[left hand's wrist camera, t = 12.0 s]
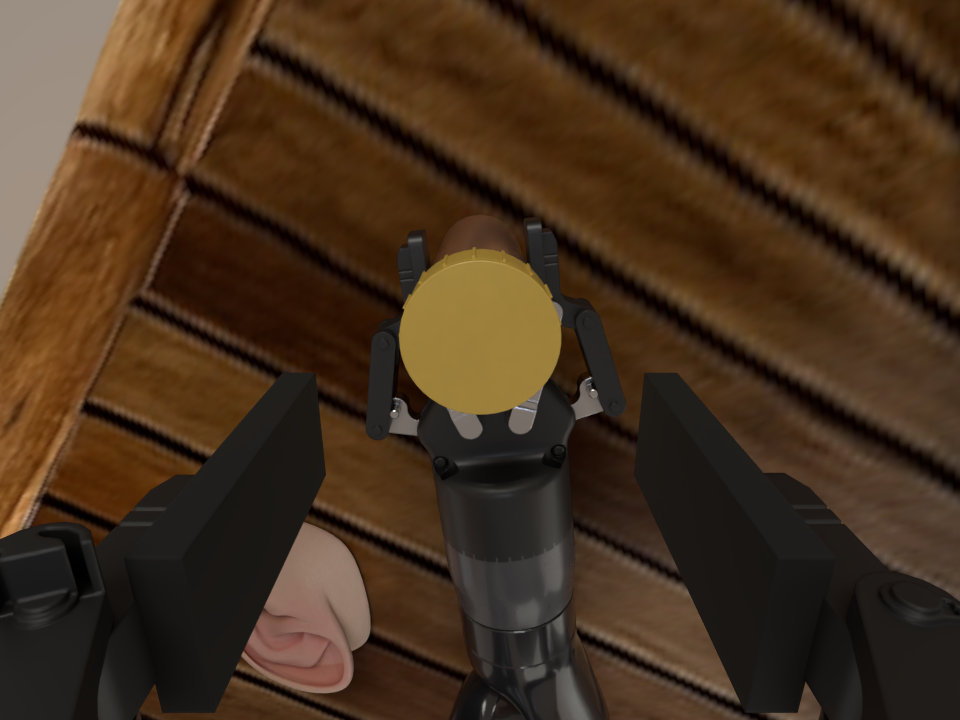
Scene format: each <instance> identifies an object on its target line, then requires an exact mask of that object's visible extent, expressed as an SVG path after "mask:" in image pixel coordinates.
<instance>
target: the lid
mask: <svg viewBox="0 0 960 720" xmlns="http://www.w3.org/2000/svg"><path fill="white" fill-rule="evenodd" d="M551 298H552V294H551V292H550V290H549V288H548V286H547V284H545V285H544V284H543V282H542V281H541V279H540V278H539V277H538V275H537V274H536V273H535V272H534V271H533V270H532V269H531V267H530V264H528V263H527V264H525V263H523V262H522V261H521V260H519V259H517V258H515V257H513V256H511V255H508V254H506V253H505V251H503V250H502V251H501V252H499V251H495V250H488V249H476V247H473V249H472V250H466V251H461V252H458V253H454V254H452V255H450V256H448V254H447V255H445V257H444V259H442V260H440V261H439V262H437V263H436V264H434V265H433V266H432V267H431V268H430V269H428V271H427V272H425V271H424V272H423V273H422V275H421V277H420V279H419V281H418V283H417V284H416V286H415V288H414V290H413V292H412V294H411V295H410V294H409V296H408V298H407V300H406V302H405V304H404V306H403V309H405V310H404V313H403V316H402V319H401V324H400V331H399V343H400V351H401V356H402V359H403V362H404V365H405V367H406V369H407V371H408V373H409V375H410V377H411V378H412V380H413V381H414V383H415V384H416V385H417V386H418V387H419V388H420V390H421V391H422V392H423V393H425V394H426V395H427V396H428V397H429V398H431V399H432V400H434V401H435V402H437V403H438V404H440V405H442V406H444V407H446V408H448V409H451V410H454V411H457V412H462V413H466V414H475V415H484V414H494V413H499V412H503V411H507V410H509V409H512V408H514V407H517V406H518V405H520V404H522V403H524V402H526V401H527V400H528V399H530V398H531V397H532V396H534V395H535V394H536V393H537V392H538V391H539V390H540V389H541V388H542V387H543V386H544V384H545V383H546V382H547V381H548V379H549V377H550V376H551V374H552V373H553V371H554V368H555V366H556V364H557V361H558V358H559V354H560V348H561V326H560V325H562V324H561V321H560V319H559V316H558V314H557V311H556V309H555V306H554V304H553V302H552V300H551Z"/></svg>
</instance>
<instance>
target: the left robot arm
mask: <svg viewBox="0 0 960 720" xmlns="http://www.w3.org/2000/svg"><path fill="white" fill-rule="evenodd" d="M325 476H326V471H325V461H324V452H323V442H322V432H321V422H320V413H319V403H318V393H317V384H316V374H315V373H283V374H282V375H281V376H280V377H279V378H278V379H277V380H276V382H275V383H274V384H273V385H272V386H271V387H270V389H269V390H268V391H267V392H266V393H265V394H264V396H263V397H262V398H261V399H260V400H259V401H258V402H257V404H256V405H255V406H254V407H253V408H252V409H251V411H250V412H249V413H248V414H247V415H246V416H245V418H244V419H243V420H242V421H241V422H240V423H239V424H238V426H237V427H236V428H235V429H234V430H233V431H232V433H231V434H230V435H229V436H228V437H227V438H226V440H225V441H224V442H223V443H222V444H221V445H220V446H219V448H218V449H217V450H216V451H215V452H214V453H213V455H212V456H211V457H210V458H209V459H208V460H207V462H206V463H205V464H204V465H203V466H202V467H201V468H200V470H199V471H198V472H197V473H196V474H195V475H175V476H173V477H172V478H170V479H168V480H167V481H165V482H163V483H162V484H160V485H158V486H157V487H155V488H153V489H152V490H150V491H149V492H148V493H147V494H146V496H145V497H144V498H143V499H142V500H141V501H140V502H139V503H138V504H137V505H136V506H135V507H134V511H130V512H129V513H128V514H127V515H126V516H125V518H124V519H123V520H122V521H121V522H120V525H119V526H116V527H115V528H114V529H113V530H112V531H111V532H110V533H109V534H108V535H107V536H106V537H105V539H104V540H103V541H102V542H101V543H100V544H99V545H98V546H97V547H96V548H95V546H94V542H93V538H92V535H91V531H90V530H89V529H87V528H86V527H85V526H83V525H82V524H77V523H70V522H58V523H49V524H42V525H38V526H35V527H31V528H28V529H24V530H20V531H18V532H16V533H13V534H11V535H9V536H7V537H4V538H2V539H0V720H141V716H140V713H139V709H140V707H141V706H142V704H143V702H144V701H145V699H146V697H147V696H148V694H149V692H150V691H151V689H152V687H153V686H154V684H155V685H156V689H157V693H158V697H159V701H160V705H161V709H162V713H215V711H216V709H217V707H218V705H219V702H220V700H221V698H222V696H223V694H224V692H225V690H226V687H227V685H228V683H229V681H230V679H231V677H232V675H233V672H234V670H235V668H236V666H237V664H238V662H239V660H240V657H241V655H242V653H243V651H244V649H245V647H246V645H247V642H248V640H249V638H250V636H251V634H252V632H253V630H254V628H255V625H256V623H257V621H258V619H259V617H260V615H261V613H262V610H263V608H264V606H265V604H266V602H267V600H268V598H269V595H270V593H271V591H272V589H273V587H274V585H275V583H276V580H277V578H278V576H279V574H280V572H281V570H282V568H283V565H284V563H285V561H286V559H287V557H288V555H289V553H290V550H291V548H292V546H293V544H294V542H295V540H296V538H297V535H298V533H299V531H300V529H301V527H302V525H303V523H304V520H305V518H306V516H307V514H308V512H309V510H310V508H311V506H312V503H313V501H314V499H315V497H316V495H317V493H318V491H319V488H320V486H321V484H322V482H323V480H324V478H325ZM634 476H635V478H636V480H637V482H638V484H639V486H640V488H641V491H642V493H643V495H644V497H645V499H646V501H647V503H648V506H649V508H650V510H651V512H652V514H653V516H654V518H655V520H656V523H657V525H658V527H659V529H660V531H661V533H662V535H663V538H664V540H665V542H666V544H667V546H668V548H669V550H670V553H671V555H672V557H673V559H674V561H675V563H676V565H677V568H678V570H679V572H680V574H681V576H682V578H683V580H684V583H685V585H686V587H687V589H688V591H689V593H690V595H691V598H692V600H693V602H694V604H695V606H696V608H697V610H698V613H699V615H700V617H701V619H702V621H703V623H704V625H705V628H706V630H707V632H708V634H709V636H710V638H711V640H712V642H713V645H714V647H715V649H716V651H717V653H718V655H719V657H720V660H721V662H722V664H723V666H724V668H725V670H726V672H727V675H728V677H729V679H730V681H731V683H732V685H733V687H734V690H735V692H736V694H737V696H738V698H739V700H740V702H741V705H742V707H743V709H744V711H745V713H798V709H799V705H800V701H801V697H802V693H803V689H804V685H805V681H806V683H807V684H808V686H809V688H810V689H811V691H812V693H813V694H814V696H815V698H816V699H817V701H818V703H819V704H820V706H821V707H822V709H821V713H820V716H819V720H960V602H959V601H958V600H957V599H955V598H954V597H953V596H951V595H950V594H949V593H947V592H946V591H944V590H942V589H940V588H938V587H936V586H934V585H932V584H930V583H928V582H926V581H924V580H921V579H918V578H915V577H912V576H908V575H905V574H902V573H895V572H890V571H889V570H888V569H887V568H886V567H885V566H884V565H883V564H882V563H881V562H880V561H879V560H878V559H877V558H876V557H875V555H874V554H873V553H872V552H871V551H870V550H869V549H868V548H867V547H866V546H865V545H864V544H863V543H862V542H861V541H860V540H859V539H858V538H857V537H856V536H855V535H854V534H853V533H852V532H851V531H850V529H849V528H848V527H847V526H846V525H845V524H841V520H840V519H839V518H838V517H837V516H836V515H835V514H834V513H833V512H832V511H831V510H830V509H827V506H826V504H825V503H824V502H823V501H822V500H821V499H820V498H819V497H818V496H817V495H816V494H815V493H814V492H813V491H812V490H811V489H810V488H809V487H807V486H805V485H804V484H802V483H800V482H799V481H797V480H795V479H794V478H792V477H790V476H789V475H787V474H785V473H763V472H762V471H761V470H760V468H759V467H758V466H757V465H756V464H755V463H754V462H753V460H752V459H751V458H750V457H749V456H748V455H747V453H746V452H745V451H744V450H743V449H742V448H741V446H740V445H739V444H738V443H737V442H736V441H735V440H734V438H733V437H732V436H731V435H730V434H729V433H728V431H727V430H726V429H725V428H724V427H723V426H722V424H721V423H720V422H719V421H718V420H717V419H716V418H715V416H714V415H713V414H712V413H711V412H710V411H709V409H708V408H707V407H706V406H705V405H704V404H703V402H702V401H701V400H700V399H699V398H698V397H697V396H696V394H695V393H694V392H693V391H692V390H691V389H690V387H689V386H688V385H687V384H686V383H685V382H684V380H683V379H682V378H681V377H680V376H679V375H678V374H677V373H645V374H644V384H643V393H642V403H641V413H640V422H639V432H638V442H637V452H636V461H635V471H634Z"/></svg>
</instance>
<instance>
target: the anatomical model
mask: <svg viewBox="0 0 960 720" xmlns="http://www.w3.org/2000/svg"><path fill="white" fill-rule="evenodd" d="M370 629H371V625H370V611H369V605H368V600H367V595H366V591H365V588H364V584H363V580H362V577H361V574H360V571H359V569H358V566H357V564H356V562H355V559H354V558H353V556H352V554H351V552H350V551H349V549H348V548H347V547H346V546H345V545H344V544H343V543H342V542H341V541H340V540H339V539H338V538H336V537H335V536H334V535H332V534H330V533H329V532H327V531H325V530H323V529H321V528H318V527H316V526H314V525H311V524H308V523H305V522H304V523H303V525H302V527H301V529H300V531H299V533H298V535H297V538H296V540H295V542H294V544H293V546H292V548H291V550H290V553H289V555H288V557H287V559H286V561H285V563H284V565H283V568H282V570H281V572H280V574H279V576H278V578H277V580H276V583H275V585H274V587H273V589H272V591H271V593H270V595H269V598H268V600H267V602H266V604H265V606H264V608H263V610H262V613H261V615H260V617H259V619H258V621H257V623H256V625H255V628H254V630H253V632H252V634H251V636H250V638H249V640H248V642H247V645H246V647H245V649H244V651H243V653H242V655H241V656H242V657H243V658H244V659H245V660H246V661H247V662H248V663H249V664H250V665H251V666H252V667H253V668H255V669H256V670H257V671H258V672H260V673H261V674H263V675H265V676H266V677H268V678H270V679H272V680H274V681H276V682H278V683H280V684H283V685H285V686H288V687H291V688H294V689H297V690H301V691H306V692H313V693H332V692H337V691H340V690H343V689H344V688H346V687H347V686H348V685H349V683H350V682H351V679H352V677H353V671H354V664H353V656H352V652H351V651H353V650H355V649H357V648H359V647H360V646H362V645H363V644H364V643H365V642H366V641H367V639H368V637H369V634H370Z"/></svg>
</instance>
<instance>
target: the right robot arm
mask: <svg viewBox="0 0 960 720" xmlns="http://www.w3.org/2000/svg"><path fill="white" fill-rule="evenodd" d="M524 232H525V244H526V255H527V263H528V264H530V267H531V269H532V270H533V271H534V272H535V273H536V274H537V275H538V277H539V278H540V279H541V281H542V282H543V284H544V285H545V284H547V286H548V288H549V290H550V292H551V294H552V298H551V300H552V302H553V304H554V306H555V309H556V311H557V314H558V316H559V319H560V321H561V324H562V325H560V326H564V327H569V328H573V329H575V333H576V336H577V339H578V342H579V345H580V348H581V351H582V354H583V357H584V361H585V364H586V367H587V370H588V371H587V372H584V373H582V374H581V375H580V376H579V377H578V379H577V392H576V393H575V395H574V396H572V397H570V398H568V397H567V396H566V395H565V394H564V392H563V391H562V390H561V389H560V388H559V387H558V386H557V385H556V384H555V383H554V382H553V381H552V380H551V379H550V378H549V379H548V381H547V382H546V383H545V384H544V386H543V387H542V388H541V389H540V390H539V391H538V392H537V393H536V394H535V395H534V396H532V397H531V398H530V399H528V400H527V401H526V402H524V403H522V404H520V405H518V406H517V407H514V408H512V409H509V410H507V411H503V412H499V413H494V414H484V415H475V414H466V413H462V412H457V411H454V410H451V409H448V408H446V407H444V406H442V405H440V404H438V403H437V402H435V401H434V400H432V399H431V398H429V400H428V401H427V403H426V405H425V407H424V408H423V410H422V412H421V413H417V412H415V411H413V410H412V408H411V407H410V403H409V398H408V396H407V395H406V394H405V393H403V392H399V391H397V383H398V371H399V359H400V343H399V331H400V324H401V319H402V316H403V313H404V312H403V313H402V314H401V315H399V316H397V317H395V318H393V319H385V320H384V321H382V322H381V324H380V326H379V328H378V331H377V332H376V333H375V335H374V336H373V338H372V342H371V356H370V372H369V387H368V403H367V419H366V432H367V434H368V436H369V437H370V438H372V439H374V440H382V439H384V438H386V437H387V435H388V433H397V434H406V435H415V436H418V438H419V440H420V442H421V443H422V444H423V446H424V447H425V448H426V449H427V451H428V453H429V455H430V457H431V462H432V467H433V474H434V480H435V486H436V492H437V499H438V505H439V511H440V517H441V524H442V530H443V536H444V542H445V548H446V555H447V561H448V566H449V571H450V574H451V578H452V581H453V583H454V586H455V589H456V593H457V597H458V602H459V609H460V615H461V622H462V628H463V635H464V641H465V646H466V651H467V654H468V657H469V660H470V662H471V665H472V667H473V668H474V669H473V670H472V671H471V672H470V673H469V675H468V676H467V677H466V679H465V681H464V682H463V684H462V686H461V688H460V691H459V693H458V695H457V698H456V700H455V703H454V706H453V709H452V711H451V714H450V717H449V720H610V719H609V713H608V709H607V705H606V702H605V699H604V696H603V693H602V691H601V688H600V686H599V683H598V681H597V678H596V676H595V674H594V671H593V669H592V667H591V664H590V662H589V659H588V657H587V654H586V652H585V649H584V647H583V645H582V643H581V641H580V638H579V636H578V634H577V631H576V617H575V603H574V589H573V576H574V568H575V542H574V528H573V513H572V498H571V484H570V470H569V455H568V440H569V436H570V434H571V432H572V430H573V428H574V426H575V422H576V419H580V418H583V417H586V416H589V415H592V414H595V413H598V412H601V411H604V413H605V414H606V415H608V416H611V417H616V416H619V415H621V414H622V413H623V412H624V411H625V408H626V402H625V399H624V396H623V392H622V389H621V386H620V382H619V379H618V376H617V373H616V369H615V366H614V363H613V359H612V356H611V353H610V350H609V346H608V343H607V340H606V336H605V333H604V330H603V327H602V323H601V320H600V317H599V315H598V314H597V312H596V311H595V309H594V308H593V307H592V305H591V304H590V302H589V301H588V300H586V299H583V298H579V299H575V298H571V297H567V296H564V295H563V294H562V293H561V292H560V279H559V264H558V249H557V241H556V239H555V237H554V235H553V233H552V231H551V230H550V229H549V228H544V229H542V226H541V220H540V219H539V218H538V217H533V218H524ZM397 264H398V270H399V276H400V283H401V289H402V295H403V301H404V304H405V302H406V300H407V298H408V296H409V294H410V295H411V294H412V292H413V290H414V288H415V286H416V284H417V283H418V281H419V279H420V277H421V275H422V273H423V272H424V271H425V272H427V271H428V269H430V268H431V264H430V257H429V250H428V243H427V236H426V231H425V230H416V231H411V232H410V233H409V234H408V244H403V245H402V246H401V247H400V249H399V252H398V257H397Z"/></svg>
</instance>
